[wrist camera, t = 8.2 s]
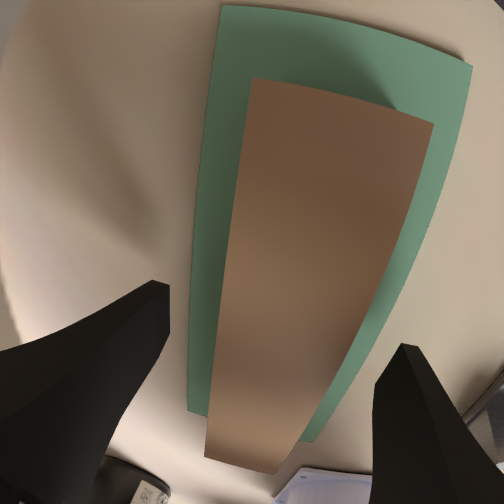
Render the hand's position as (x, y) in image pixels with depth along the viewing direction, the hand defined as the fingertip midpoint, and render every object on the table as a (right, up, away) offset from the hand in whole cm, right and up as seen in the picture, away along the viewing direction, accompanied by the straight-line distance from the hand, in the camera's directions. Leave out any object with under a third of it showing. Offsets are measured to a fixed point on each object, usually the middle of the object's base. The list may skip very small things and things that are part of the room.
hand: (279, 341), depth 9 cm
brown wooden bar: (0, +1, +2) cm, 2 cm away
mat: (0, +1, +2) cm, 2 cm away
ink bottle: (-14, -22, +18) cm, 32 cm away
